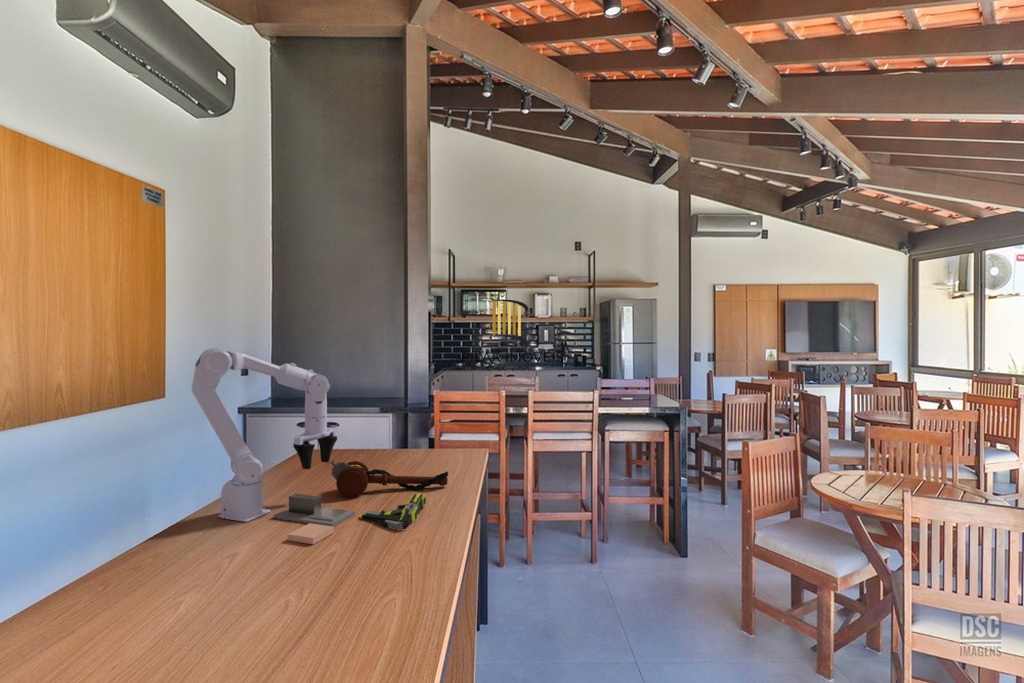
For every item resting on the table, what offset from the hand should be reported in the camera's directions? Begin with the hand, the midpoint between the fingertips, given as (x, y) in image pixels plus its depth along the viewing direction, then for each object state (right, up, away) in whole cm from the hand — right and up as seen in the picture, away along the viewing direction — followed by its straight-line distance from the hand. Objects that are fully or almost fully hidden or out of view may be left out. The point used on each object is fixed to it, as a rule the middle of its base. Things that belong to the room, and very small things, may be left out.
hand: (316, 465), depth 139 cm
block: (+5, -10, -23) cm, 25 cm away
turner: (+4, -10, -11) cm, 15 cm away
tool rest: (+4, -11, -11) cm, 15 cm away
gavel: (+18, -11, +11) cm, 24 cm away
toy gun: (+23, -11, -10) cm, 28 cm away
